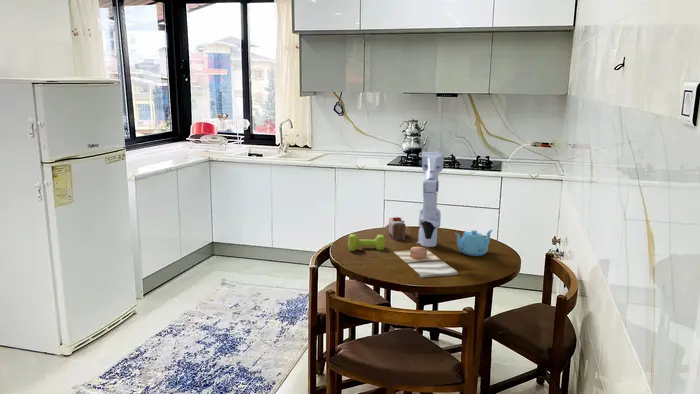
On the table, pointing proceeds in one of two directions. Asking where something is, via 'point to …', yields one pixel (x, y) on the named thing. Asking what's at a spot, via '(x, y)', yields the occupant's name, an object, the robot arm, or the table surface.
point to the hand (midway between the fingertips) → (428, 238)
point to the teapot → (473, 243)
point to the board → (427, 265)
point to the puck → (418, 253)
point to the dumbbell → (366, 242)
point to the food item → (397, 228)
